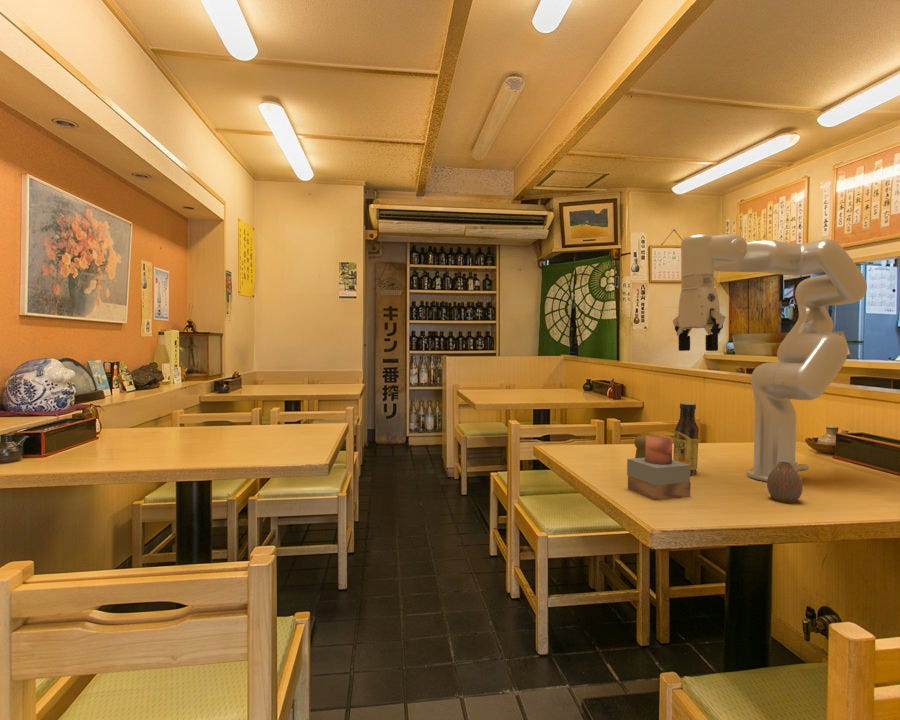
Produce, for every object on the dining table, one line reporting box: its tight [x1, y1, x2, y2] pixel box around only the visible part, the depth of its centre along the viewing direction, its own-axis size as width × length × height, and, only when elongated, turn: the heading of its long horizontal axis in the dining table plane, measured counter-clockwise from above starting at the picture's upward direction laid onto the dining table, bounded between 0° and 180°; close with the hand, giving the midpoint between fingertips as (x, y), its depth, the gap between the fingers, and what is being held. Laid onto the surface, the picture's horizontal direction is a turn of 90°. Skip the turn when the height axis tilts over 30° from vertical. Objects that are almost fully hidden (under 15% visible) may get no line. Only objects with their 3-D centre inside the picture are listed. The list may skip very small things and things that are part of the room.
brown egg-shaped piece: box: [766, 462, 804, 503], centre depth 116 cm, size 7×7×9 cm
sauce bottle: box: [672, 402, 700, 476], centre depth 141 cm, size 6×6×20 cm
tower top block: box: [626, 457, 691, 485], centre depth 121 cm, size 10×10×4 cm
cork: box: [634, 435, 646, 458], centre depth 137 cm, size 6×6×11 cm
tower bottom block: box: [627, 475, 691, 501], centre depth 121 cm, size 10×10×4 cm
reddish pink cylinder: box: [645, 434, 674, 464], centre depth 121 cm, size 6×6×6 cm
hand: (697, 350), depth 129 cm, fingers open, 9 cm apart
